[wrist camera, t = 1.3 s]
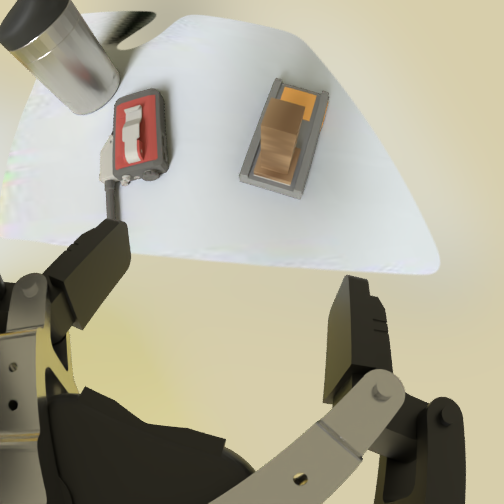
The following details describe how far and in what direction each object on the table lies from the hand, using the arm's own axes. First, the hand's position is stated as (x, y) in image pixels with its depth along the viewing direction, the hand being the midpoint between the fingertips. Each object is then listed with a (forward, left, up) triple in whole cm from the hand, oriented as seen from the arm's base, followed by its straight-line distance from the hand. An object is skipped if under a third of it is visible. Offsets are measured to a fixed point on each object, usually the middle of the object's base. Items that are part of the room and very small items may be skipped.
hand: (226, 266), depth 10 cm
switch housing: (-1, +17, -22) cm, 28 cm away
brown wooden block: (-1, +12, -20) cm, 23 cm away
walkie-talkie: (-18, +9, -23) cm, 30 cm away
